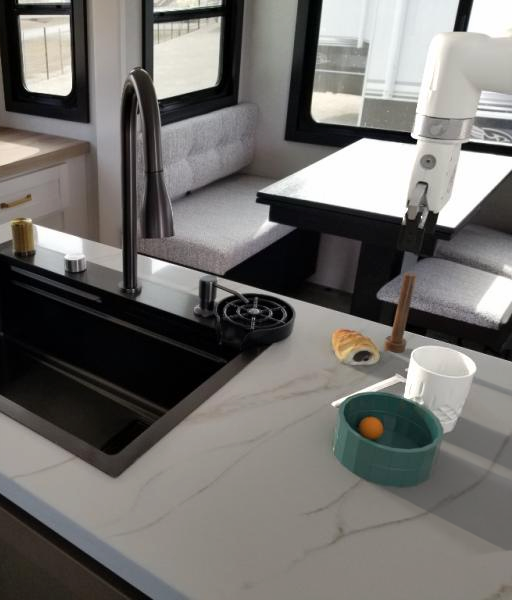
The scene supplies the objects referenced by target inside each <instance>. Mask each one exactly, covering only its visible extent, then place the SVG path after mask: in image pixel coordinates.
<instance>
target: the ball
mask: <svg viewBox="0 0 512 600" xmlns="http://www.w3.org/2000/svg"><path fill="white" fill-rule="evenodd" d="M359 431H360V433H361V435H362V436H363V437H364V438H366V439H369V440H375V439H378V438H379V437H380V436H381V435H382V433H383V425H382V423H381V422H380V421H379V420H378V419H377V418H374V417H366V418H364V419H363V420H362V421H361V422H360V424H359Z"/></svg>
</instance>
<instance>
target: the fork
mask: <svg viewBox="0 0 512 600" xmlns="http://www.w3.org/2000/svg"><path fill="white" fill-rule="evenodd" d="M408 369H409V367H407V368H405V369H404V371H405V372H407V373H408ZM406 380H407V378H405V377H404V376H402V375H400V374H399V373H395V374H394V375H393V376H391V377H389V378H387V379H384V380H382V381H379V382H377V383H375V384H372V385H370V386H368V387H365V388H363V389H361V390H358V391H356V392H354V393H352V394H349V395H347V396H344V397H342V398H339V399H337V400H335V401H333V402H331V406H333V408H337V407H340V404H341V403H342V402H343V401H344V400H345V399H346V398H347V397H349V396H352V395H354V394H357V393H362V392H379V391H381V390H383V389H385V388H388V387H391V386H393V385H395V384H398V383H403V384H404V383H405V384H406Z"/></svg>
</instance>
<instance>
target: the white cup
mask: <svg viewBox="0 0 512 600" xmlns="http://www.w3.org/2000/svg"><path fill="white" fill-rule="evenodd" d="M408 368H409V369H408V372H407V376H406V379H407V380H406V383H405V388H404V392H403V393H404V394H403V397H405V398H408V399H410V400H413V401H415V402H417V403H419V404H421V405H422V406H424V407H425V408H427V409H429V410H430V411H431V412H432V413H433V414H434V415H435V416H436V417H437V418H438V419H439V420H440V423H441V425H442V427H443V429H444V432H443V434H446V433H450V432H452V431H453V430H454V428H455V427H456V424H457V421H458V418H459V416H460V415H461V414H462V411H463V407H464V406H465V402H466V400H467V398H468V395H469V392H470V390H471V386H472V383H473V381H474V378H475V375H476V373H477V364H476V363H475V361H474V360H473V359H472V358H471V357H469V356H468V355H466V354H464V353H463V352H460V351H458V350H455V349H453V348H449V347H445V346H440V345H423V346H419V347H417V348H414V349H413V350H412V352H411V354H410V358H409V363H408Z"/></svg>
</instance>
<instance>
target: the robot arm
mask: <svg viewBox="0 0 512 600" xmlns="http://www.w3.org/2000/svg"><path fill="white" fill-rule="evenodd" d="M420 85H421V86H420V89H419V95H418V100H417V106H416V110H415V114H414V119H413V122H412V123H413V124H412V129H411V133H410V136H411V138H413V139H415V140H417V142H416V146H415V150H414V153H413V157H412V162H411V166H410V170H409V174H408V179H407V184H406V188H405V193H404V199H403V205H404V208H406V209H405V213H404V216H403V218H402V221H401V223H400V227H399V231H398V237H397V242H396V246H395V248H396V249H397V251H403V252H406V253H407V252H408V253H411V254H419V253H420V252H421V249H422V245H423V240H424V237H425V234H430V235H433V234H435V231H436V227H437V223H438V221H439V216H440V213H441V211H442V210H443V209H444V208H445V207H446V206H447V204H448V202H449V201H450V200H451V197H452V193H453V188H454V184H455V179H456V174H457V169H458V164H459V160H460V155H461V150H462V144H466V143H468V142H470V139H471V135H472V132H473V127H474V123H475V120H476V115H477V112H478V108H479V107H478V106H479V104H480V99H481V96H482V93H483V91H484V92H490V93H496V94H502V95H507V96H512V26H511V27H508V28H506V29H505V30H504V29H503V30H502V31H501V32H498V33H497V34H496V35H495V36H494V37H492V36H490V35H488V34H486V33H481V32H475V31H474V32H471V31H446V32H441V33H438V34H436V35H435V36H434V37H433V38H432V40H431V42H430V44H429V48H428V53H427V57H426V62H425V66H424V71H423V76H422V82H421V84H420Z"/></svg>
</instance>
